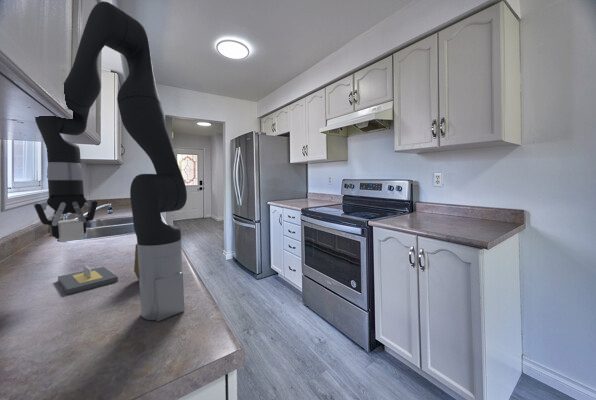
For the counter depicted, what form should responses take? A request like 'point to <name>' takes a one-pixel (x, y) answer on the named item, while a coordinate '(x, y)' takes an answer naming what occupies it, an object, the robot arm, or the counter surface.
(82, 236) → the block
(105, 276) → the board
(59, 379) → the counter surface
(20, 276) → the counter surface
